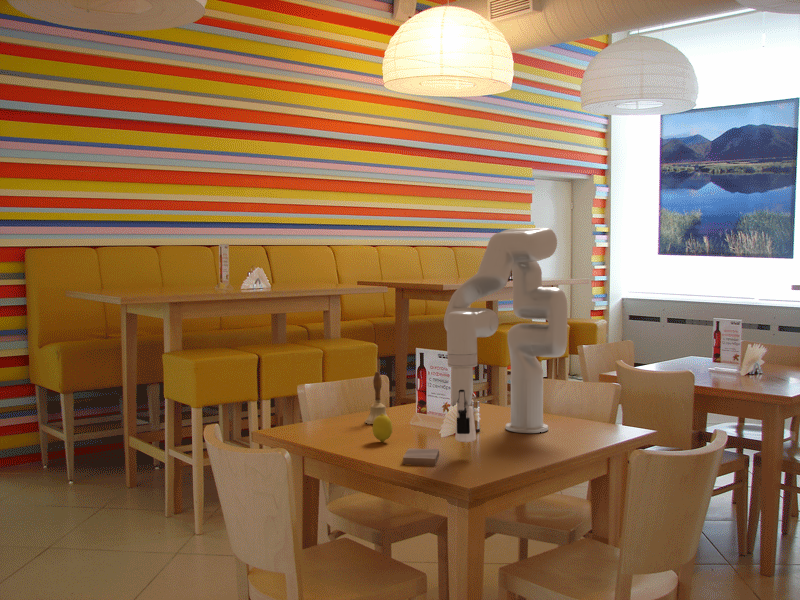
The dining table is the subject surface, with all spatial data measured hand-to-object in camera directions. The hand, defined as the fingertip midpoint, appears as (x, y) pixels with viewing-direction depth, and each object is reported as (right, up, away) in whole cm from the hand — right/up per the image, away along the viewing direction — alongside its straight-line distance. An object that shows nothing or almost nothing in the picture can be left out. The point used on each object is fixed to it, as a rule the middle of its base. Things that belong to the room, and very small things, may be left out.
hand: (463, 430), depth 195 cm
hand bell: (-23, -5, +45) cm, 51 cm away
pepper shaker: (+1, -2, 0) cm, 3 cm away
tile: (-10, -6, +3) cm, 12 cm away
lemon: (-21, -6, +17) cm, 28 cm away
